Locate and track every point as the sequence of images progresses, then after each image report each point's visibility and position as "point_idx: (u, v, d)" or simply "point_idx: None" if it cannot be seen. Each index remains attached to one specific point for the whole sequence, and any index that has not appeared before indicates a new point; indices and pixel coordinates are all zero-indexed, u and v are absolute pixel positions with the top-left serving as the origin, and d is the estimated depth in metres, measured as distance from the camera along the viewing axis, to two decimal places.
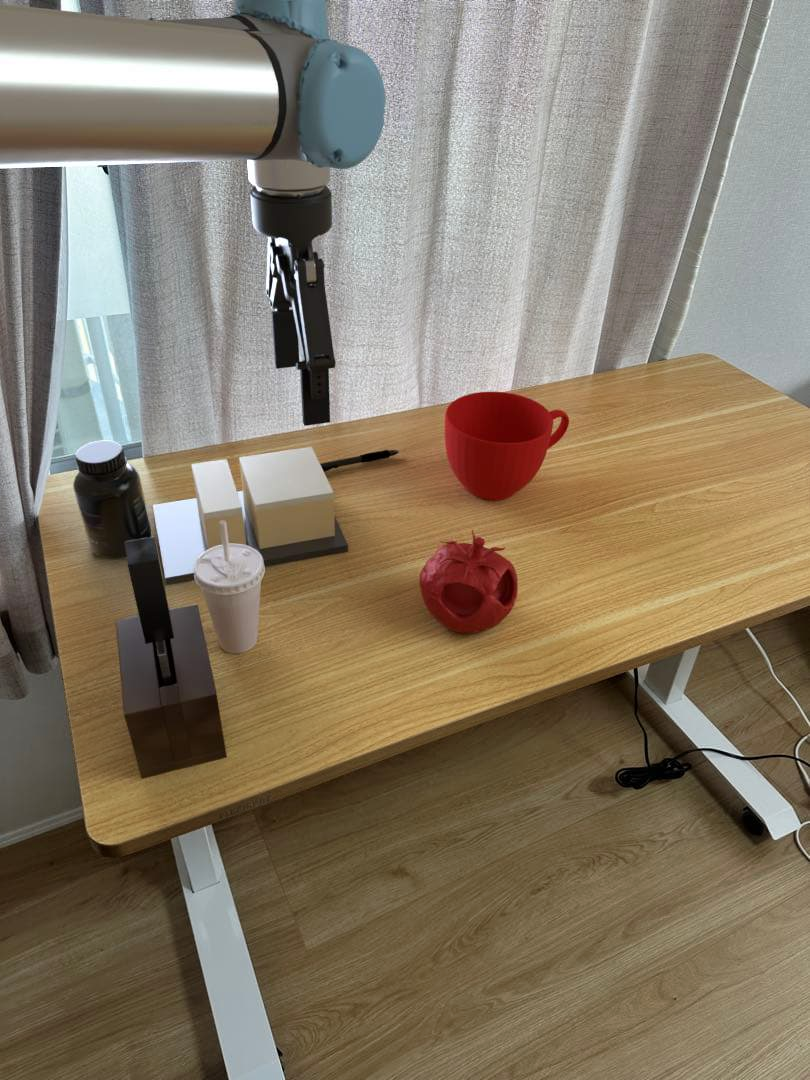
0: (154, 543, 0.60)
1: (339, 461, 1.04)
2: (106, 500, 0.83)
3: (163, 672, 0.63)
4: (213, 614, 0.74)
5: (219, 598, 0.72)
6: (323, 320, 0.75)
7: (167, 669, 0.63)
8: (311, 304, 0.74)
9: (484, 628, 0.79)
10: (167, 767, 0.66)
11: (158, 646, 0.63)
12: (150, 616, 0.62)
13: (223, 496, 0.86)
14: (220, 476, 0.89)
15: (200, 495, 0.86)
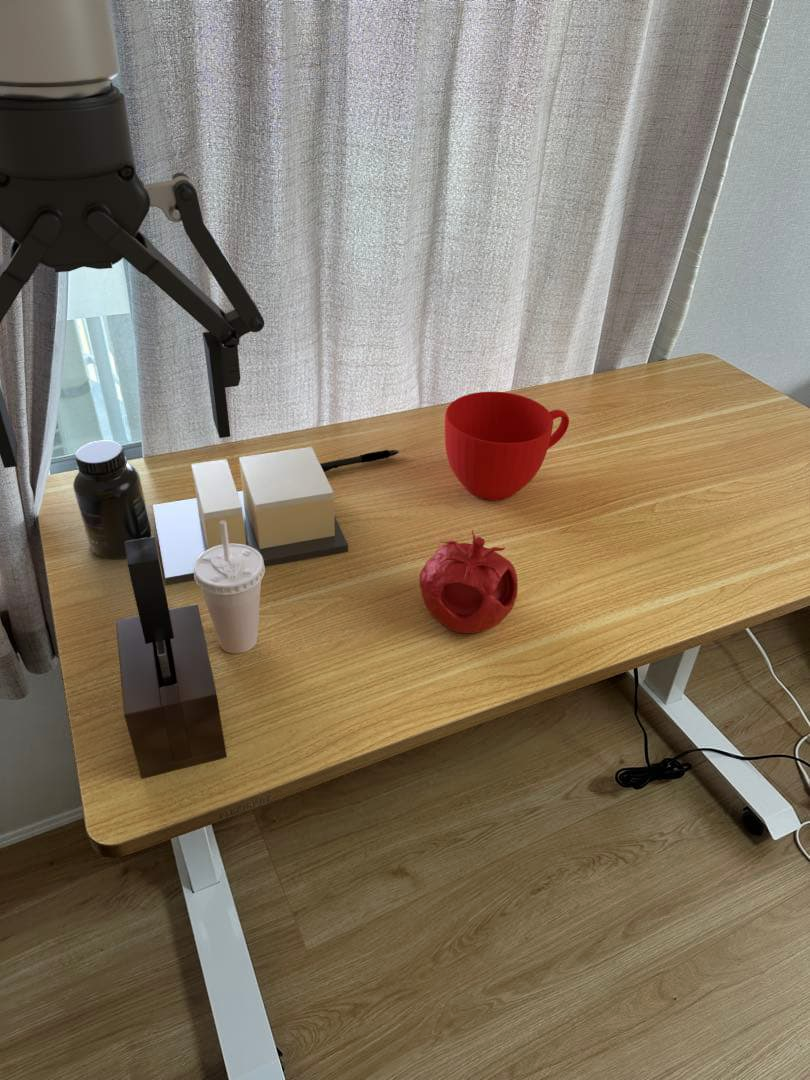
0: (154, 543, 0.60)
1: (339, 461, 1.04)
2: (105, 500, 0.83)
3: (163, 672, 0.63)
4: (213, 614, 0.74)
5: (218, 598, 0.72)
6: (226, 258, 0.50)
7: (167, 669, 0.63)
8: (215, 240, 0.48)
9: (484, 628, 0.79)
10: (167, 767, 0.66)
11: (158, 646, 0.63)
12: (150, 616, 0.62)
13: (223, 496, 0.86)
14: (220, 476, 0.89)
15: (200, 495, 0.86)
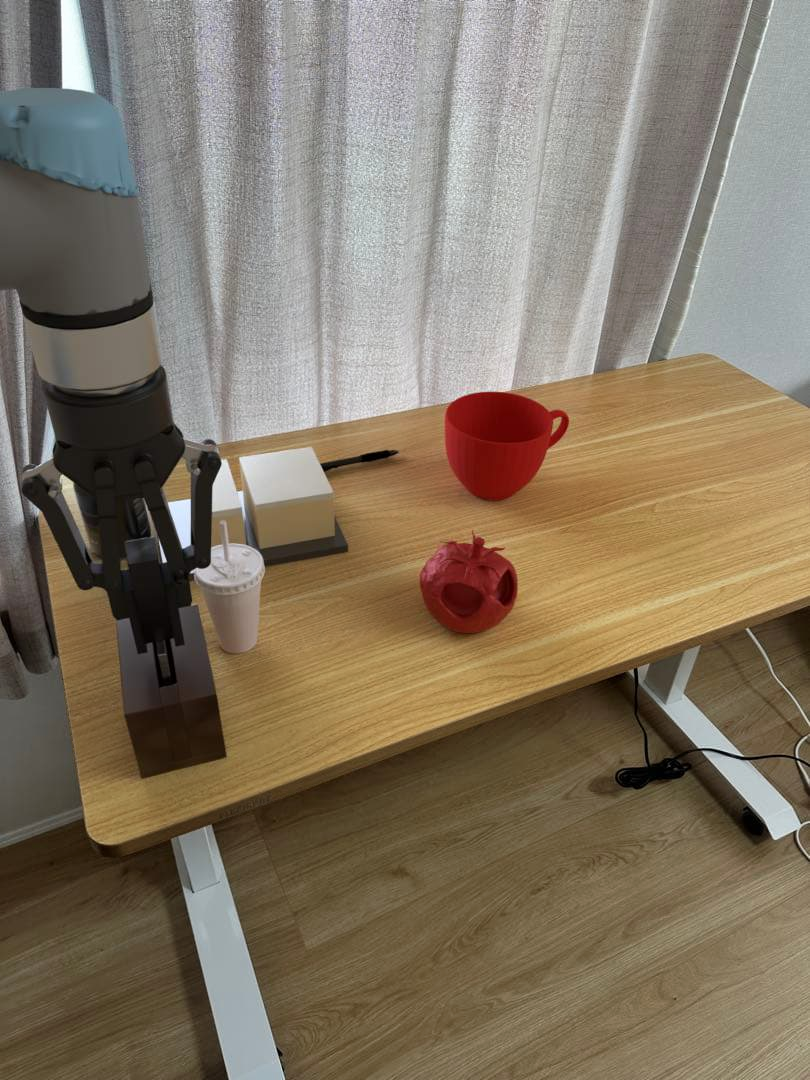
0: (154, 543, 0.60)
1: (339, 461, 1.04)
2: None
3: (163, 672, 0.63)
4: (213, 614, 0.74)
5: (219, 598, 0.72)
6: None
7: (167, 669, 0.63)
8: None
9: (484, 628, 0.79)
10: (167, 767, 0.66)
11: (158, 646, 0.63)
12: (150, 616, 0.62)
13: (223, 496, 0.86)
14: (220, 476, 0.89)
15: None
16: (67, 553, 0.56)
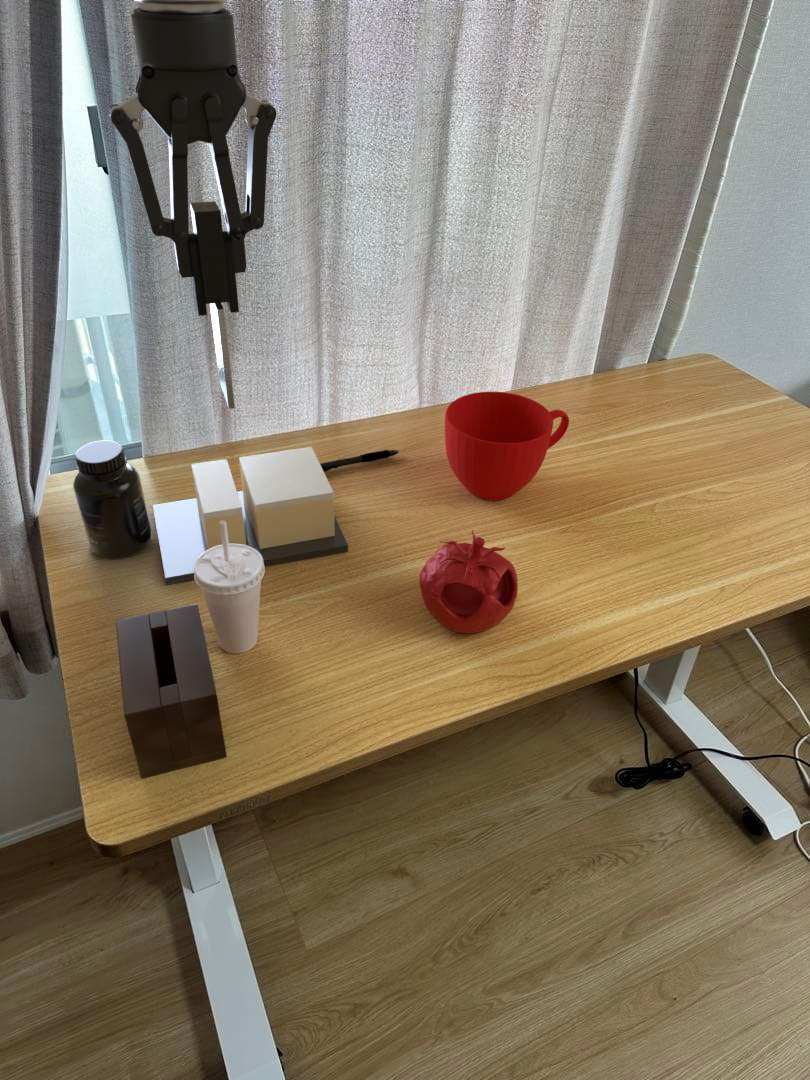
0: (215, 204, 0.70)
1: (339, 461, 1.04)
2: (105, 500, 0.83)
3: (221, 330, 0.73)
4: (213, 614, 0.74)
5: (219, 598, 0.72)
6: None
7: (224, 327, 0.73)
8: None
9: (484, 628, 0.79)
10: (167, 767, 0.66)
11: (217, 305, 0.73)
12: (211, 272, 0.71)
13: (223, 496, 0.86)
14: (220, 476, 0.89)
15: (200, 495, 0.86)
16: (145, 192, 0.66)
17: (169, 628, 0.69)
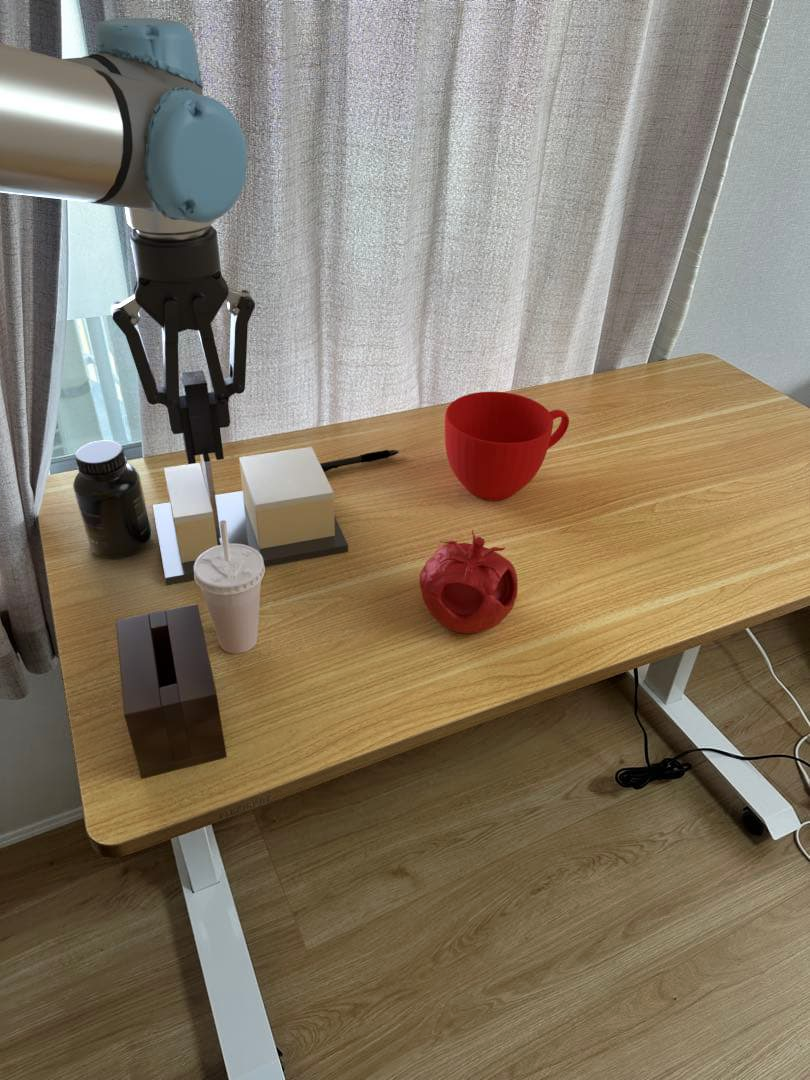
0: (202, 373, 0.81)
1: (339, 461, 1.04)
2: (105, 500, 0.83)
3: (208, 477, 0.84)
4: (213, 614, 0.74)
5: (219, 598, 0.72)
6: None
7: (211, 475, 0.84)
8: None
9: (484, 628, 0.79)
10: (167, 767, 0.66)
11: (204, 457, 0.83)
12: (199, 431, 0.82)
13: (194, 501, 0.86)
14: (192, 480, 0.89)
15: (171, 499, 0.86)
16: (141, 371, 0.77)
17: (169, 628, 0.69)
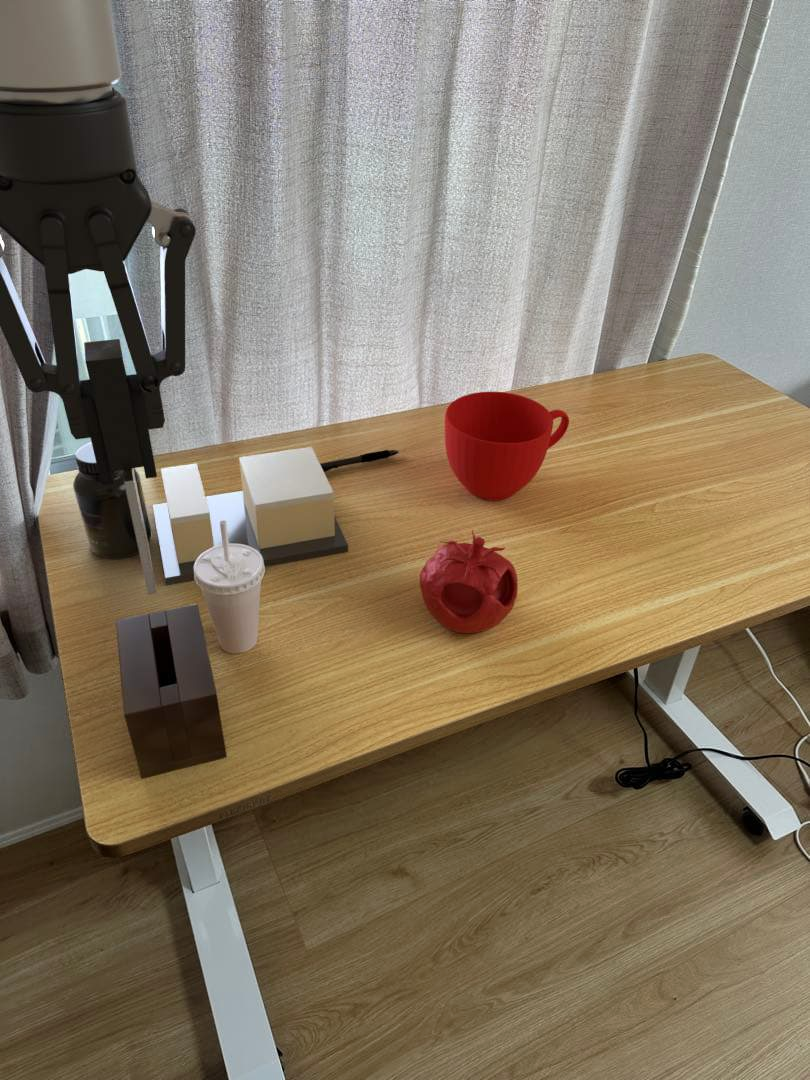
0: (118, 344, 0.51)
1: (339, 461, 1.04)
2: (105, 500, 0.83)
3: (131, 505, 0.54)
4: (213, 614, 0.74)
5: (218, 598, 0.72)
6: None
7: (135, 502, 0.54)
8: None
9: (484, 628, 0.79)
10: (167, 767, 0.66)
11: (125, 474, 0.54)
12: (114, 434, 0.53)
13: (191, 501, 0.85)
14: (189, 481, 0.89)
15: (168, 500, 0.85)
16: (12, 339, 0.47)
17: (169, 628, 0.69)
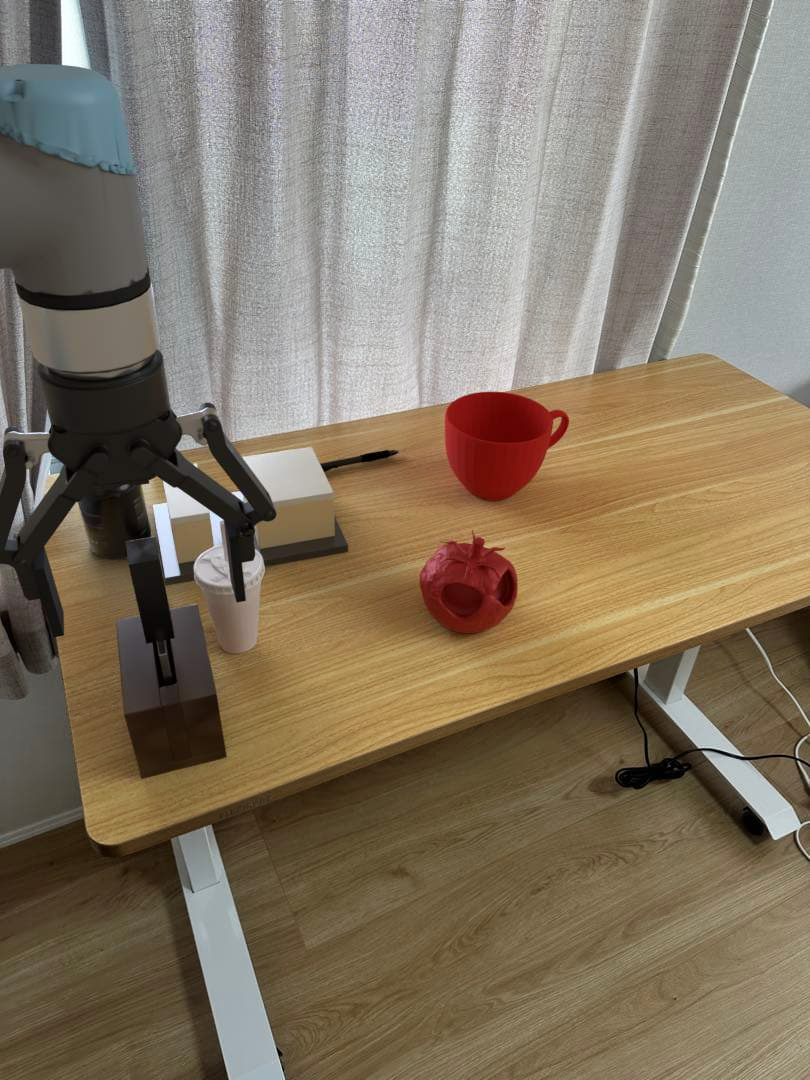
0: (155, 543, 0.60)
1: (339, 461, 1.04)
2: (105, 500, 0.83)
3: (164, 672, 0.63)
4: (213, 614, 0.74)
5: (219, 598, 0.72)
6: (244, 463, 0.59)
7: (168, 669, 0.63)
8: (235, 454, 0.57)
9: (484, 628, 0.79)
10: (167, 767, 0.66)
11: (159, 646, 0.63)
12: (151, 615, 0.62)
13: (191, 501, 0.85)
14: None
15: (168, 500, 0.85)
16: None
17: None
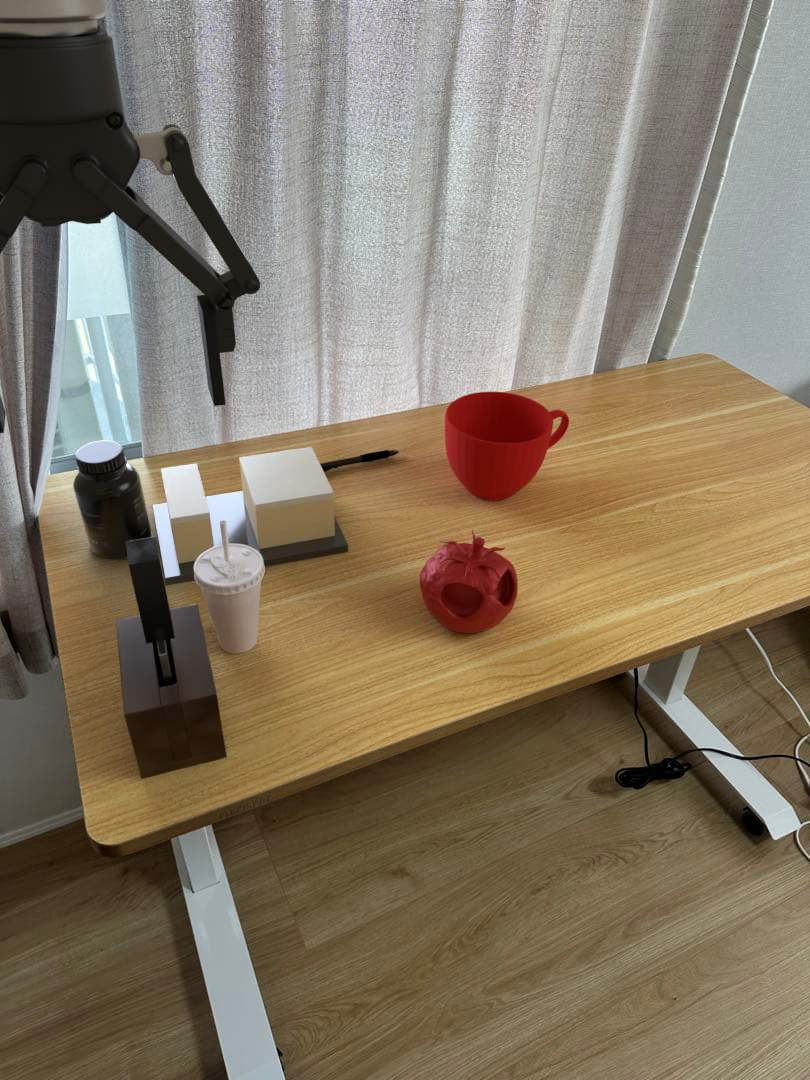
0: (155, 543, 0.60)
1: (339, 461, 1.04)
2: (105, 500, 0.83)
3: (164, 672, 0.63)
4: (213, 614, 0.74)
5: (219, 598, 0.72)
6: None
7: (168, 669, 0.63)
8: (208, 196, 0.47)
9: (484, 628, 0.79)
10: (167, 767, 0.66)
11: (159, 646, 0.63)
12: (151, 615, 0.62)
13: (191, 501, 0.85)
14: (189, 481, 0.89)
15: (168, 500, 0.85)
16: None
17: None
